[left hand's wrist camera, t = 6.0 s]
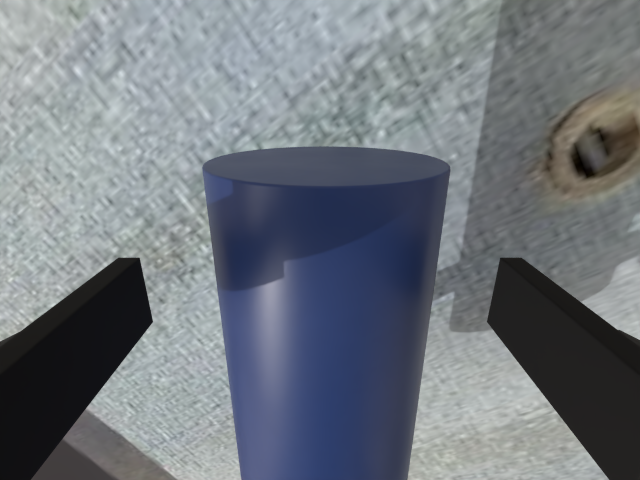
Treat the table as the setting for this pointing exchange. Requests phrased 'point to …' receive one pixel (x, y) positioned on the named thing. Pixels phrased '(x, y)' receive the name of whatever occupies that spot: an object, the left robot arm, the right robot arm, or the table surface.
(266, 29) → the table surface
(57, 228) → the table surface
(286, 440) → the rod
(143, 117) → the table surface
